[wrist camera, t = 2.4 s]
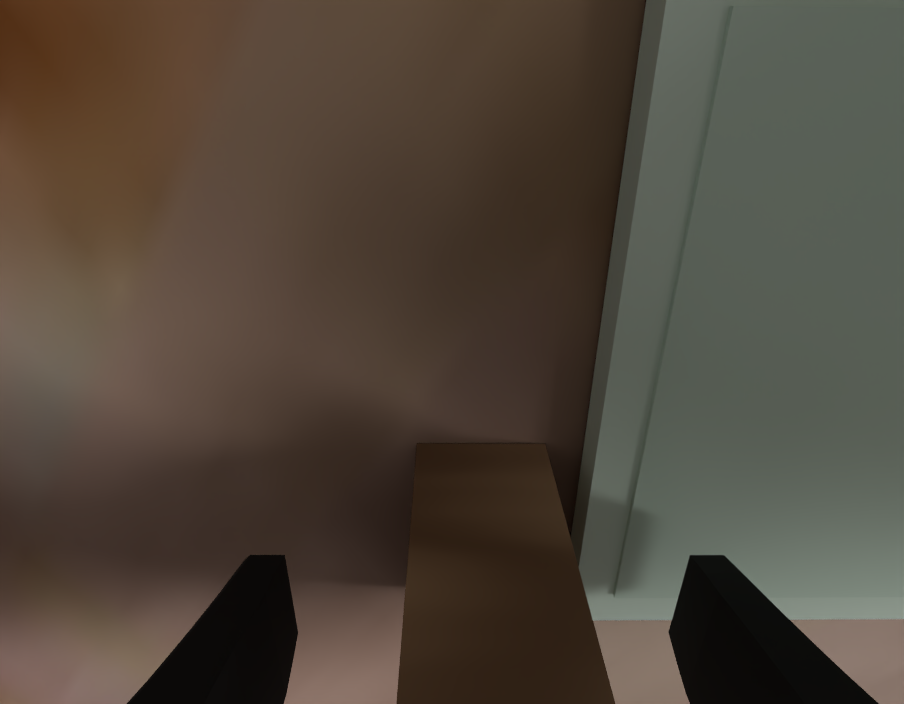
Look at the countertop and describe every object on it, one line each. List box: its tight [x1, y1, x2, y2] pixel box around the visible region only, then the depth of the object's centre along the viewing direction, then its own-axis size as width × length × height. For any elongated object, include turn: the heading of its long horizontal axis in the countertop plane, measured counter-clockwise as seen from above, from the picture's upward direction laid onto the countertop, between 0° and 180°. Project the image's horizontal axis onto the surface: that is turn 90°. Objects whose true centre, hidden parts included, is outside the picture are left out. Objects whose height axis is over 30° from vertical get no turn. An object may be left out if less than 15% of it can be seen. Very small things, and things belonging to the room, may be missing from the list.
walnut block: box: [397, 443, 615, 704], centre depth 9 cm, size 2×4×6 cm, turn 179°
